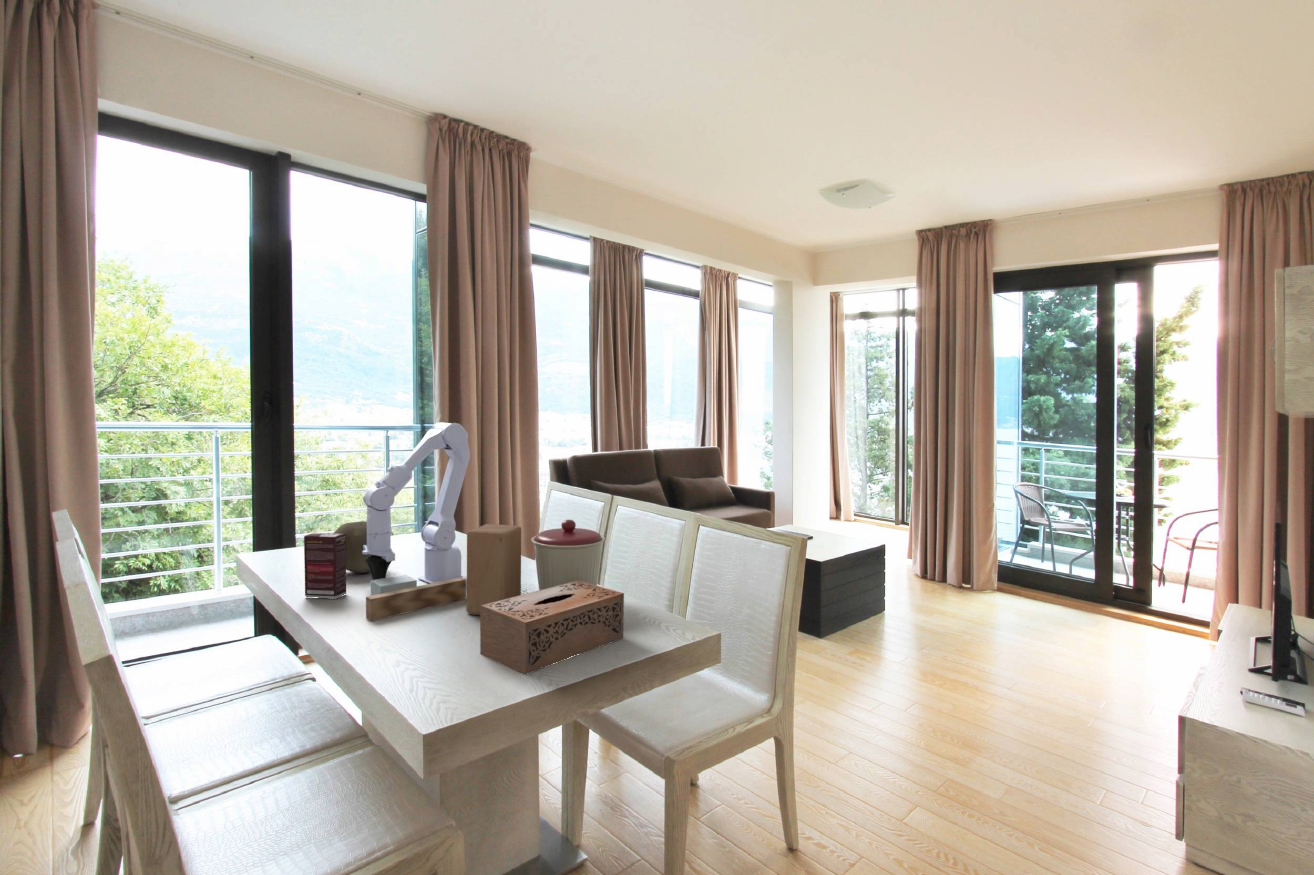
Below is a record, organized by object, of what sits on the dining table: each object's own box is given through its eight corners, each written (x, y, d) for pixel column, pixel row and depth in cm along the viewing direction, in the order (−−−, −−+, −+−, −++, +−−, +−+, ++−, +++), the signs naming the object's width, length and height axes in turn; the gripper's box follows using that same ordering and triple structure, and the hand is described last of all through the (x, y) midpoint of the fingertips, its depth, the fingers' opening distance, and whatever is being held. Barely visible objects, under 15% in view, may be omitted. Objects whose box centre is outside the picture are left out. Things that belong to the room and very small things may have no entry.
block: (406, 591, 169) (406, 574, 169) (416, 597, 164) (416, 580, 164) (370, 597, 163) (370, 580, 163) (380, 604, 158) (380, 586, 158)
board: (460, 596, 164) (460, 577, 164) (465, 598, 163) (466, 579, 162) (366, 618, 147) (365, 596, 147) (370, 621, 145) (370, 599, 145)
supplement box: (347, 594, 165) (347, 533, 164) (336, 600, 160) (335, 536, 159) (315, 592, 166) (315, 531, 165) (303, 598, 161) (302, 535, 160)
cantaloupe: (376, 564, 195) (375, 515, 195) (390, 574, 184) (390, 522, 184) (325, 571, 186) (324, 520, 186) (337, 582, 175) (337, 528, 175)
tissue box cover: (578, 623, 147) (578, 580, 146) (623, 639, 137) (623, 593, 137) (480, 655, 127) (480, 605, 127) (525, 676, 118) (525, 622, 117)
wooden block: (504, 618, 148) (505, 532, 147) (464, 615, 150) (465, 530, 149) (522, 605, 158) (522, 525, 157) (484, 602, 160) (485, 523, 159)
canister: (516, 602, 161) (517, 518, 160) (574, 588, 173) (575, 511, 172) (559, 620, 148) (560, 529, 147) (618, 604, 160) (620, 520, 159)
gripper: (351, 530, 171) (351, 581, 171) (375, 538, 161) (375, 592, 161) (378, 527, 176) (378, 576, 176) (402, 535, 166) (403, 587, 167)
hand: (378, 583), depth 169 cm, fingers closed
